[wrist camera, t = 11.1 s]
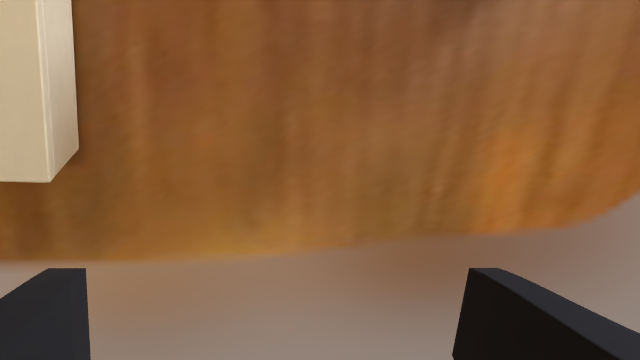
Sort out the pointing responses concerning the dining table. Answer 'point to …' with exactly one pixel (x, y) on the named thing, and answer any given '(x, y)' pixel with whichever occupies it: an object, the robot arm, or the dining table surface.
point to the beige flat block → (36, 89)
